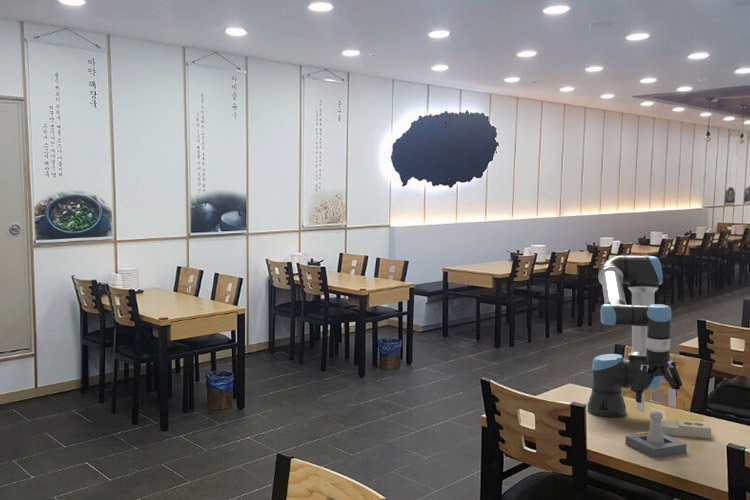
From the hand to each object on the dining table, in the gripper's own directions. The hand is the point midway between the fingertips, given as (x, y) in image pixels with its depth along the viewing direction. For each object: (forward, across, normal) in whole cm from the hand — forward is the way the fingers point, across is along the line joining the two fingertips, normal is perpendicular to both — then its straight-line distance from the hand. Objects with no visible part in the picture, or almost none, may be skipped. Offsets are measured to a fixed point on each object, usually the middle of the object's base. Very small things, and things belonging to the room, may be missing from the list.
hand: (656, 408), depth 233 cm
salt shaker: (+14, 0, -1) cm, 14 cm away
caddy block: (+14, 0, -1) cm, 14 cm away
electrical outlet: (+15, +20, +8) cm, 26 cm away
